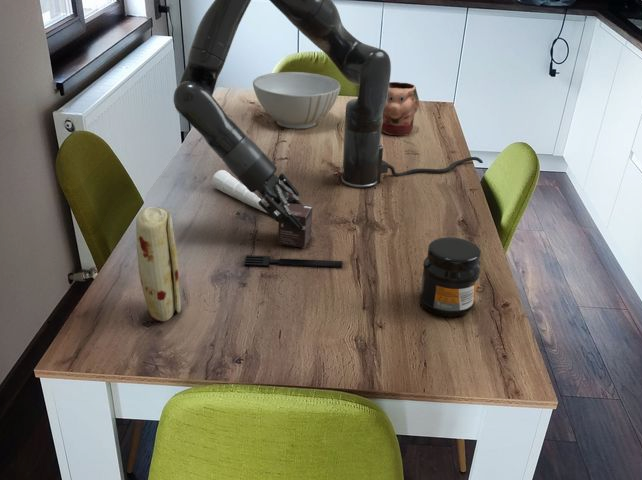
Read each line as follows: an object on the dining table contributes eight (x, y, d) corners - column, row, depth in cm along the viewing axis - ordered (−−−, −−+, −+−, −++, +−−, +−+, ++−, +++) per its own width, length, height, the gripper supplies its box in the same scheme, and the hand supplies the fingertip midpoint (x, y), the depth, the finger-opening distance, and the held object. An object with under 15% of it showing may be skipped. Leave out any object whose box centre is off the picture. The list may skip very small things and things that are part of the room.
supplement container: (473, 322, 130) (483, 265, 123) (416, 315, 131) (423, 258, 124) (473, 294, 139) (484, 239, 132) (420, 287, 140) (427, 232, 133)
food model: (148, 299, 132) (136, 199, 120) (184, 299, 132) (175, 199, 121) (141, 328, 124) (127, 223, 112) (180, 327, 124) (170, 224, 113)
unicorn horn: (267, 223, 161) (266, 203, 158) (211, 189, 175) (210, 171, 173) (283, 218, 163) (283, 198, 161) (227, 185, 178) (226, 167, 175)
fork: (341, 261, 148) (342, 259, 147) (341, 270, 144) (342, 268, 144) (246, 257, 147) (246, 255, 147) (244, 266, 144) (244, 264, 144)
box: (277, 244, 152) (277, 212, 148) (285, 232, 157) (285, 201, 152) (304, 248, 151) (305, 216, 147) (311, 236, 156) (312, 205, 151)
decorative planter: (378, 118, 229) (382, 74, 221) (416, 121, 228) (421, 77, 220) (375, 138, 213) (378, 91, 205) (415, 141, 212) (420, 94, 204)
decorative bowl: (338, 138, 211) (340, 97, 204) (249, 134, 211) (248, 92, 204) (339, 112, 233) (340, 74, 226) (258, 108, 233) (257, 69, 226)
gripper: (251, 164, 138) (309, 227, 143) (270, 141, 150) (322, 200, 155) (226, 187, 142) (283, 247, 147) (246, 162, 153) (298, 219, 159)
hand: (303, 223), depth 151 cm, fingers closed on box, 6 cm apart
